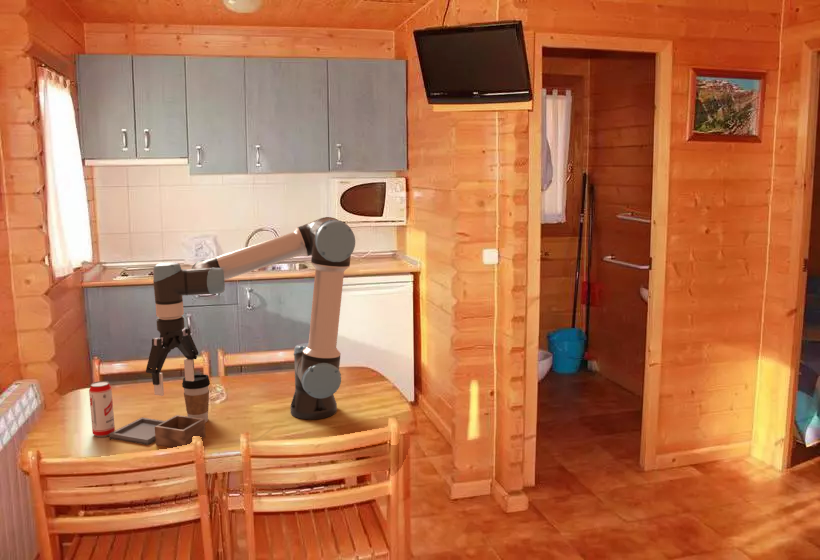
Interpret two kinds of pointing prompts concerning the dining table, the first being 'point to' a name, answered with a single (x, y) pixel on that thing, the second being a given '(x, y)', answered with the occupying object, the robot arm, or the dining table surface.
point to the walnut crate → (179, 431)
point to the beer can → (101, 408)
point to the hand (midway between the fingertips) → (175, 387)
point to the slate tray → (137, 431)
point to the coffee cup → (197, 396)
